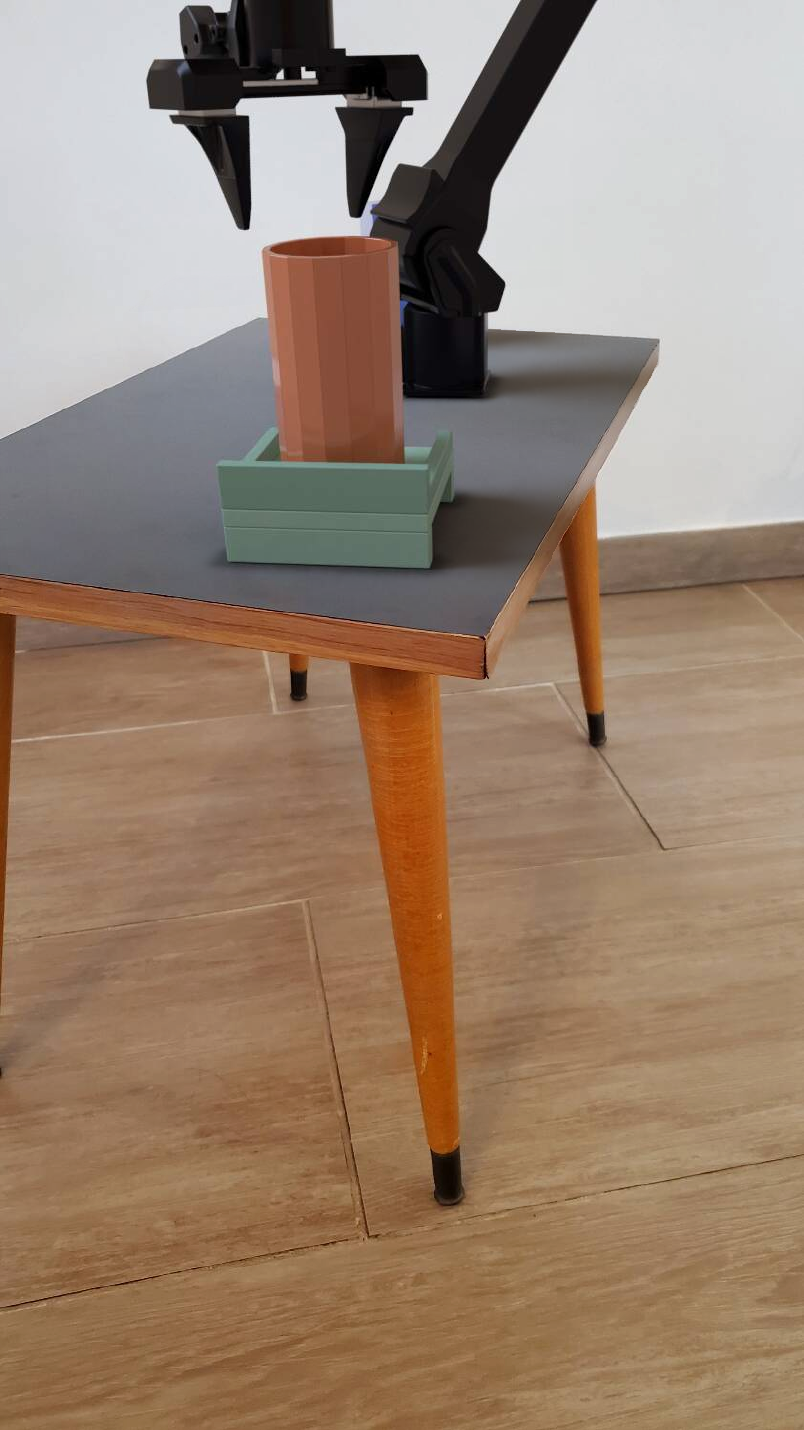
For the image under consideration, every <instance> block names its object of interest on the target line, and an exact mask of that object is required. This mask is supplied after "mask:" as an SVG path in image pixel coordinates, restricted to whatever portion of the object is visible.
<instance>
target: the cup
mask: <svg viewBox="0 0 804 1430" xmlns="http://www.w3.org/2000/svg"><path fill="white" fill-rule="evenodd" d="M261 259H262V270H263V280H264V282H263V283H264V290H265V291H264V292H265V302H266V303H265V304H266V313H267V322H268V324H267V325H268V334H269V345H270V355H271V356H270V357H271V365H272V366H271V367H272V379H273V389H274V391H273V392H274V401H275V410H276V411H275V412H276V421H277V428H278V434H279V445H280V456H281V462H329V463H379V464H405V448H404V447H405V422H404V420H405V419H404V417H405V416H404V395H403V383H402V355H401V324H400V293H399V262H398V242H396V241H393V240H390V239H387V238H378V237H369V236H361V235H333V236H331V235H330V236H315V237H314V236H313V237H305V238H304V237H303V238H293V239H289V240H284V241H278V242H275V243H272V244H269V245H265V246H264V247H263V249H262V250H261Z"/></svg>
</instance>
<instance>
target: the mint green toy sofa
mask: <svg viewBox="0 0 804 1430" xmlns="http://www.w3.org/2000/svg"><path fill="white" fill-rule="evenodd" d="M453 435H454V433H453V430H451V429H440V430H439V431H438V433H437V435H436V438H435V439H434V442H433V444H432V447H431V446H404V448H405V464H379V463H329V462H281V456H280V445H279V434H278V427H270V428H269V429H268V430H267V431H266V432H265V433H264V435H263V436H262V437H261V438H260V439H259V440H258V441H257V443H256V444H255V445H254V446H253V448H251V450H250V451H249V452H248V453H247V454H246V455H245V457H244V458H243V459H242V460H226V459H224V460H223V459H221V460H219V461H218V462H217V464H216V466H215V467H216V476H217V484H218V491H219V492H218V493H219V500H220V508H221V517H222V523H223V524H222V525H223V532H224V533H223V534H224V539H225V540H224V541H225V549H226V557H227V562H229V563H254V564H255V563H257V564H284V565H286V564H287V565H312V566H313V565H316V566H339V567H340V566H342V567H343V566H344V567H371V568H373V567H375V568H398V569H399V568H401V569H403V568H404V569H430V568H431V565H432V562H433V525H432V524H433V522H434V519H435V516H436V514H437V510H438V509H439V506H440V503H453V500H454V497H455V448H454V440H453V439H454V437H453Z"/></svg>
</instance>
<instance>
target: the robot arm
mask: <svg viewBox="0 0 804 1430" xmlns="http://www.w3.org/2000/svg"><path fill="white" fill-rule="evenodd" d="M230 1H231V3H230V7H229V10H228V11H226V12H225V11H222V12H221V11H219V12H218V11H217V12H215V11H214V9H213V7H212V6H211V5H207V4H206V5H205V4H204V5H203V4H202V5H201V4H198V5H197V4H196V5H195V4H194V5H193V4H192V5H190V4H188V5H185V6H184V7H183V9H182V10H181V11H180V12H179V13H178V17H179V35H180V37H179V38H180V46H181V50H182V54H183V58H158V59H157V58H155V59H153V61H152V62H151V64H150V67H149V68H148V72H147V75H146V80H145V81H146V83H145V84H146V90H147V99H148V107H149V110H162V111H163V110H164V111H177V113H176V114H175V113H174V114H168V117H169V120H170V121H171V123H172V124H173V125H180V126H181V125H183V126H184V127H185V128H186V129H187V130H188V132H190V134H191V136H193V137H194V138H195V140H196V141H197V142H198V144H199V145H200V147H201V149H202V150H203V152H204V154H205V156H206V158H207V159H208V162H209V164H210V166H211V168H212V170H213V173H214V175H215V177H216V180H217V183H218V185H219V188H220V190H221V193H222V194H223V197H224V199H225V202H226V204H227V206H228V209H229V211H230V214H231V216H232V219H233V221H234V223H235V225H236V228H237V229H238V230H241V231H249V230H250V228H251V219H252V218H251V217H252V173H251V171H252V170H251V168H252V167H251V132H250V131H251V130H250V128H251V127H250V124H251V123H250V115H248V114H247V115H245V114H237V108H236V107H237V106H238V105H239V103H240V101H241V100H244V99H245V100H246V99H247V100H250V99H271V98H273V99H274V98H295V97H299V98H300V97H320V96H321V97H323V96H343V98H344V99H345V100H346V106H334V111H335V112H336V115H337V118H338V120H339V122H340V125H341V128H342V130H343V133H344V150H345V152H344V153H345V154H344V155H345V184H346V185H345V186H346V188H345V189H346V190H345V191H346V200H347V201H346V202H347V209H348V216H349V217H350V218H353V219H360V218H361V217H362V215H363V212H364V209H365V207H366V204H367V202H368V201H369V198H370V196H371V195H372V191H373V188H374V186H375V183H376V180H377V178H378V175H379V173H380V170H381V168H382V165H383V163H384V160H385V157H386V156H387V155H388V154H387V153H388V151H389V149H390V147H391V146H392V144H393V141H394V139H395V137H396V135H397V133H398V131H399V129H400V126H401V124H402V122H403V120H404V119H405V117H411V116H414V111H415V110H414V109H415V107H414V106H403V102H418V101H419V102H420V101H429V72H428V70H427V68H426V66H425V63H424V62H423V59H422V57H421V56H420V54H419V53H414V54H413V53H411V54H408V53H407V54H361V55H360V54H358V55H353V54H352V55H347V48H346V47H339V48H338V47H336V44H335V22H334V21H335V20H334V0H230ZM598 1H599V0H519V2H518V4H517V6H516V7H515V10H514V11H513V13H512V15H511V17H510V19H509V20H508V22H507V24H506V26H505V28H504V30H503V32H502V33H501V35H500V37H499V39H498V41H497V42H496V44H495V46H494V48H493V50H492V51H491V53H490V55H489V57H488V58H487V61H486V62H485V64H484V66H483V67H482V69H481V71H480V74H479V75H478V77H477V79H476V80H475V83H474V84H473V86H472V88H471V90H470V92H469V93H468V95H467V97H466V99H465V100H464V103H463V104H462V107H461V108H460V110H459V112H458V114H457V115H456V117H455V119H454V121H453V123H452V125H451V126H450V128H449V129H448V132H447V133H446V135H445V137H444V139H443V141H442V143H441V145H440V146H439V148H438V149H437V151H436V152H435V153H434V154H433V156H432V157H431V158H429V159H428V160H427V162H425V163H424V164H423V165H422V166H419V165H413V164H407V163H402V162H401V163H398V164H397V165H396V167H395V168H394V171H393V172H392V174H391V176H390V180H389V183H388V185H387V188H386V190H385V193H384V195H383V196H382V198H381V199H380V200H381V201H380V202H379V203H378V204H377V205H376V206H375V207H374V208H372V209H371V210H370V214H371V215H374V216H377V218H376V219H375V221H374V223H373V226H372V229H371V231H370V235H369V237H378V238H387V239H390V240H393V241H396V242H398V262H399V293H400V301H406V302H408V303H407V305H406V306H405V307H404V309H403V322H402V324H401V355H402V386H403V396H421V397H423V396H424V397H425V396H426V397H427V396H429V397H430V396H433V397H434V396H435V397H482V396H484V395H485V393H486V390H487V388H488V385H489V382H490V379H491V376H492V375H491V374H492V370H491V369H489V367H488V364H489V363H488V362H489V361H488V360H489V313H495V312H496V313H497V312H498V311H499V309H500V306H501V303H502V299H503V297H504V294H505V289H506V285H507V284H506V281H505V280H504V279H503V278H502V277H501V276H500V275H499V273H498V272H497V271H496V270H495V269H494V268H493V267H492V266H491V265H490V264H489V263H488V261H486V260H485V258H484V257H483V256H482V255H481V254H480V253H479V251H480V249H481V246H482V245H483V241H484V240H485V237H486V234H487V231H488V225H489V217H490V210H491V209H490V207H491V199H492V192H493V188H494V186H495V183H496V181H497V179H498V177H499V176H500V174H501V172H502V171H503V168H504V166H505V165H506V164H507V161H508V160H509V158H510V156H511V154H512V152H513V151H514V149H515V147H516V145H517V143H518V142H519V140H520V138H521V137H522V135H523V133H524V131H525V130H526V127H528V124H529V122H530V120H531V119H532V117H533V115H534V114H535V112H536V110H537V108H538V107H539V105H540V103H541V101H542V100H543V98H544V96H545V94H546V92H547V90H548V89H549V87H550V85H551V83H552V81H553V80H554V79H555V76H556V75H557V72H558V71H559V69H560V67H561V65H562V64H563V62H564V60H565V59H566V56H567V55H568V54H569V52H570V49H571V48H572V46H573V45H574V43H575V41H576V39H577V38H578V35H579V33H580V31H581V30H582V28H583V26H584V25H585V23H586V21H587V19H588V18H589V16H590V14H591V12H592V11H593V9H594V7H595V6H596V4H597V2H598ZM302 68H304V72H305V73H306V72H309V73H311V72H314V73H315V74H314V75H315V77H303V75H302V73H303V72H302ZM281 72H282V73H283V78H278V74H280V73H281Z"/></svg>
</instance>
